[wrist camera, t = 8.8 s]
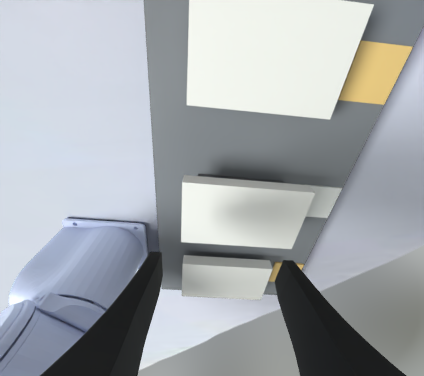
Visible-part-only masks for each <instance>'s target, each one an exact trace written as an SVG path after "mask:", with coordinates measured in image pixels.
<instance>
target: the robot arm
mask: <svg viewBox="0 0 424 376" xmlns="http://www.w3.org/2000/svg"><path fill="white" fill-rule="evenodd" d="M62 224H63V228H62V229H61V230H60V231H59V232H58V233H57V234H56V235H55V236H54V237H53V238H52V239H51V240H50V241H49V242H48V243H47V244H46V245H45V246H44V247H43V248H42V249H41V250H40V251H39V252H38V253H37V254H36V255H35V256H34V257H33V258H32V259H31V260H30V261H29V262H28V263H27V264H26V265H25V267H24V268H23V269H22V270H21V272H20V273H19V274H18V276H17V278H16V279H15V281H14V283H13V285H12V288H11V290H10V293H9V307H7V308H6V309H4V310H3V311H2V312H0V376H137V375H138V370H139V366H140V361H141V357H142V352H143V348H144V344H145V340H146V336H147V333H148V330H149V326H150V323H151V320H152V316H153V313H154V310H155V306H156V303H157V300H158V296H159V292H160V288H161V282H162V277H163V268H162V252H150V253H149V254H148V249H147V239H146V230H145V225H144V224H141V223H128V222H113V221H99V220H84V219H69V218H65V219H64V220H63V221H62ZM136 227H138V228H136ZM137 269H139V270H138V271H137ZM136 271H137V273H136ZM275 287H276V292H277V296H278V301H279V304H280V307H281V310H282V313H283V317H284V320H285V323H286V326H287V329H288V332H289V334H290V338H291V341H292V344H293V348H294V351H295V355H296V359H297V364H298V367H299V372H300V376H406V375H405V374H404V373H402V372H401V371H400V370H398V368H396V367H395V366H394V365H393V364H391V363H390V362H389V361H388V360H387V359H386V358H385V357H384V356H382V355H381V354H380V353H379V352H378V351H377V350H376V349H375V348H373V347H372V346H371V345H370V344H369V343H368V342H367V341H366V340H365V339H364V338H363V337H362V336H361V335H360V334H358V333H357V332H356V331H355V330H354V329H353V328H352V327H351V326H350V325H349V324H348V323H347V322H346V321H345V320H344V319H343V318H342V317H341V316H340V315H339V313H337V311H336V310H335V309H334V308H333V307H332V306H331V305H330V304H329V303H328V302H327V300H326V299H325V298H324V297H323V296H322V295H321V293H320V292H319V291H318V290H317V289H316V288H315V286H314V285H313V284H312V283H311V282H310V280H309V279H308V278H307V277H306V275H305V274H304V273H303V272H302V271H301V269H300V268H299V267H298V266H297V264H296V263H295V262H294V261H293V260H283V262H282V264H281V267H280V269H279V272H278V274H277V276H276V279H275Z"/></svg>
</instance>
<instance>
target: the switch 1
mask: <svg viewBox="0 0 424 376" xmlns="http://www.w3.org/2000/svg"><path fill="white" fill-rule="evenodd" d="M373 6H374V4H366V3H359V2H351V1H344V0H189V28H188V68H187V105H189V106H199V107H209V108H219V109H229V110H239V111H249V112H259V113H269V114H279V115H289V116H299V117H309V118H319V119H329V120H330V118H331V116H332V113H333V111H334V108H335V105H336V103H337V100H338V98H339V95H340V92H341V90H342V87H343V85H344V82H345V79H346V77H347V74H348V71H349V69H350V66H351V64H352V61H353V58H354V56H355V53H356V51H357V48H358V45H359V43H360V40H361V38H362V35H363V32H364V30H365V27H366V25H367V22H368V19H369V17H370V14H371V11H372V9H373Z"/></svg>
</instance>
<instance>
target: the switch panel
mask: <svg viewBox="0 0 424 376" xmlns="http://www.w3.org/2000/svg"><path fill="white" fill-rule="evenodd" d="M344 1H351V2H359V3H366V4H374V6H373V9H372V11H371V14H370V17H369V19H368V22H367V25H366V27H365V30H364V32H363V35H362V38H361V40H360V43H359V45H358V48H357V51H356V53H355V56H354V58H353V61H352V64H351V66H350V69H349V71H348V74H347V77H346V79H345V82H344V85H343V87H342V90H341V92H340V95H339V98H338V100H337V103H336V105H335V108H334V111H333V113H332V116H331V118H330V120H329V119H319V118H309V117H299V116H289V115H279V114H269V113H259V112H249V111H239V110H229V109H219V108H209V107H199V106H189V105H187V68H188V28H189V0H144V13H145V29H146V46H147V62H148V78H149V94H150V110H151V126H152V142H153V158H154V174H155V191H156V207H157V223H158V239H159V252H162V268H163V277H162V282H161V287H162V289H172V290H182V265H183V258H184V255H190V256H207V257H223V258H240V259H256V260H270V262H271V266H272V269H273V270H272V272H271V275H270V278H269V280H268V283H267V285H266V288H265V291H264V293H263V294H269V295H277V292H276V287H275V279H276V276H277V274H278V272H279V269H280V267H281V264H282V262H283V260H293V261H294V262H295V263H296V264H297V266H298V267H299V268H300V269H301V271H302V269H303V267H304V265H305V263H306V261H307V259H308V257H309V255H310V253H311V251H312V249H313V247H314V245H315V243H316V241H317V239H318V237H319V235H320V233H321V231H322V229H323V227H324V225H325V223H326V221H327V219H328V217H329V215H330V213H331V211H332V209H333V207H334V205H335V203H336V201H337V199H338V197H339V195H340V193H341V191H342V189H343V187H344V185H345V183H346V181H347V179H348V177H349V175H350V173H351V171H352V169H353V167H354V165H355V163H356V161H357V159H358V157H359V155H360V153H361V151H362V149H363V147H364V145H365V143H366V141H367V139H368V137H369V135H370V133H371V131H372V129H373V127H374V125H375V123H376V121H377V119H378V117H379V115H380V113H381V111H382V109H383V107H384V105H385V103H386V101H387V99H388V97H389V95H390V93H391V91H392V89H393V87H394V85H395V83H396V81H397V79H398V77H399V75H400V73H401V71H402V69H403V67H404V65H405V63H406V61H407V59H408V57H409V55H410V53H411V51H412V49H413V47H414V45H415V43H416V41H417V39H418V37H419V35H420V33H421V31H422V29H423V27H424V0H344ZM184 175H190V176H202V177H214V178H227V179H239V180H251V181H263V182H276V183H288V184H300V185H309V186H310V187H311V189H312V190H313V191H314V192H315V195H314V198H313V200H312V202H311V205H310V207H309V209H308V212H307V214H306V217H305V219H304V221H303V224H302V226H301V228H300V231H299V233H298V235H297V238H296V240H295V242H294V245H293V247H292V249H281V248H266V247H250V246H234V245H219V244H203V243H187V242H181V217H182V181H183V177H184Z"/></svg>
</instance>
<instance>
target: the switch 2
mask: <svg viewBox="0 0 424 376" xmlns="http://www.w3.org/2000/svg"><path fill="white" fill-rule="evenodd" d="M314 195H315V192H314V191H313V190H312V189H311V187H310V186H309V185H300V184H288V183H276V182H263V181H251V180H239V179H227V178H214V177H202V176H190V175H184V177H183V181H182V217H181V242H187V243H203V244H219V245H234V246H250V247H266V248H281V249H292V247H293V245H294V242H295V240H296V238H297V235H298V233H299V231H300V228H301V226H302V224H303V221H304V219H305V217H306V214H307V212H308V209H309V207H310V205H311V202H312V200H313V198H314Z"/></svg>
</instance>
